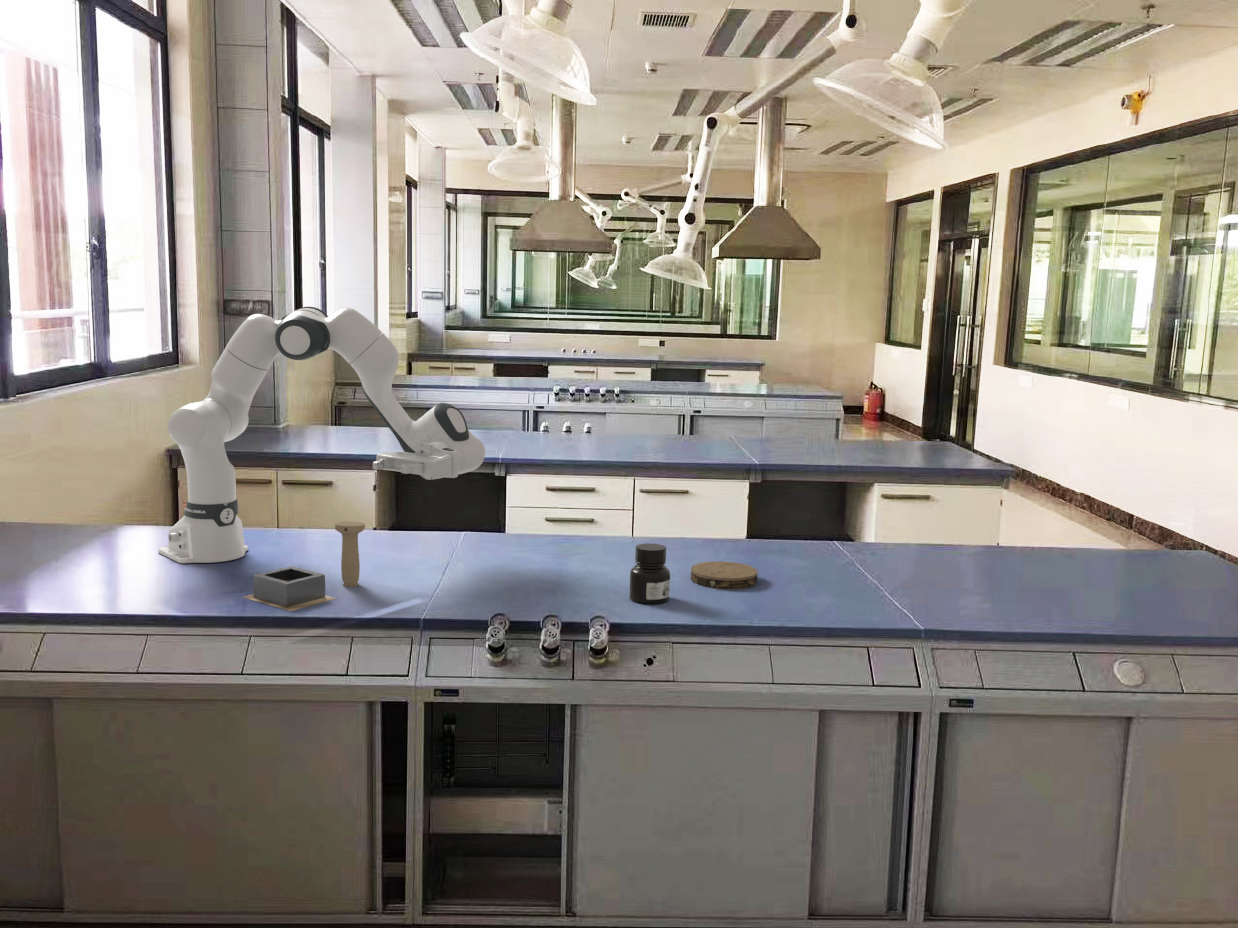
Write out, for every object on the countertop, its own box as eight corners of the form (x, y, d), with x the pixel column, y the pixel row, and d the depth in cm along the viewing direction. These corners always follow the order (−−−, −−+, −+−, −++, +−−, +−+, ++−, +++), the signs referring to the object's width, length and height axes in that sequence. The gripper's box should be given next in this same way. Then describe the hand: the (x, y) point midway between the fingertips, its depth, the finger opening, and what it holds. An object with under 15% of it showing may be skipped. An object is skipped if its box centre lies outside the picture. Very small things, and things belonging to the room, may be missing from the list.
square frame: (253, 597, 223) (253, 575, 222) (292, 588, 231) (291, 566, 230) (286, 607, 217) (286, 584, 216) (325, 597, 225) (324, 574, 224)
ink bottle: (655, 607, 227) (657, 554, 226) (621, 600, 232) (622, 548, 230) (677, 597, 236) (679, 545, 234) (643, 591, 240) (644, 540, 238)
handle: (360, 592, 232) (359, 526, 230) (332, 591, 233) (331, 525, 231) (368, 587, 237) (367, 522, 235) (341, 585, 238) (340, 520, 236)
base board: (242, 601, 224) (242, 596, 224) (289, 589, 234) (288, 585, 233) (290, 615, 215) (290, 611, 215) (336, 602, 225) (336, 598, 224)
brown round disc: (700, 570, 261) (700, 558, 261) (763, 577, 256) (763, 565, 256) (682, 586, 247) (683, 573, 246) (749, 593, 241) (749, 581, 241)
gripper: (401, 444, 258) (357, 450, 246) (462, 451, 246) (419, 458, 235) (402, 469, 258) (358, 476, 247) (462, 478, 247) (420, 486, 236)
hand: (388, 467), depth 241 cm, fingers open, 8 cm apart
